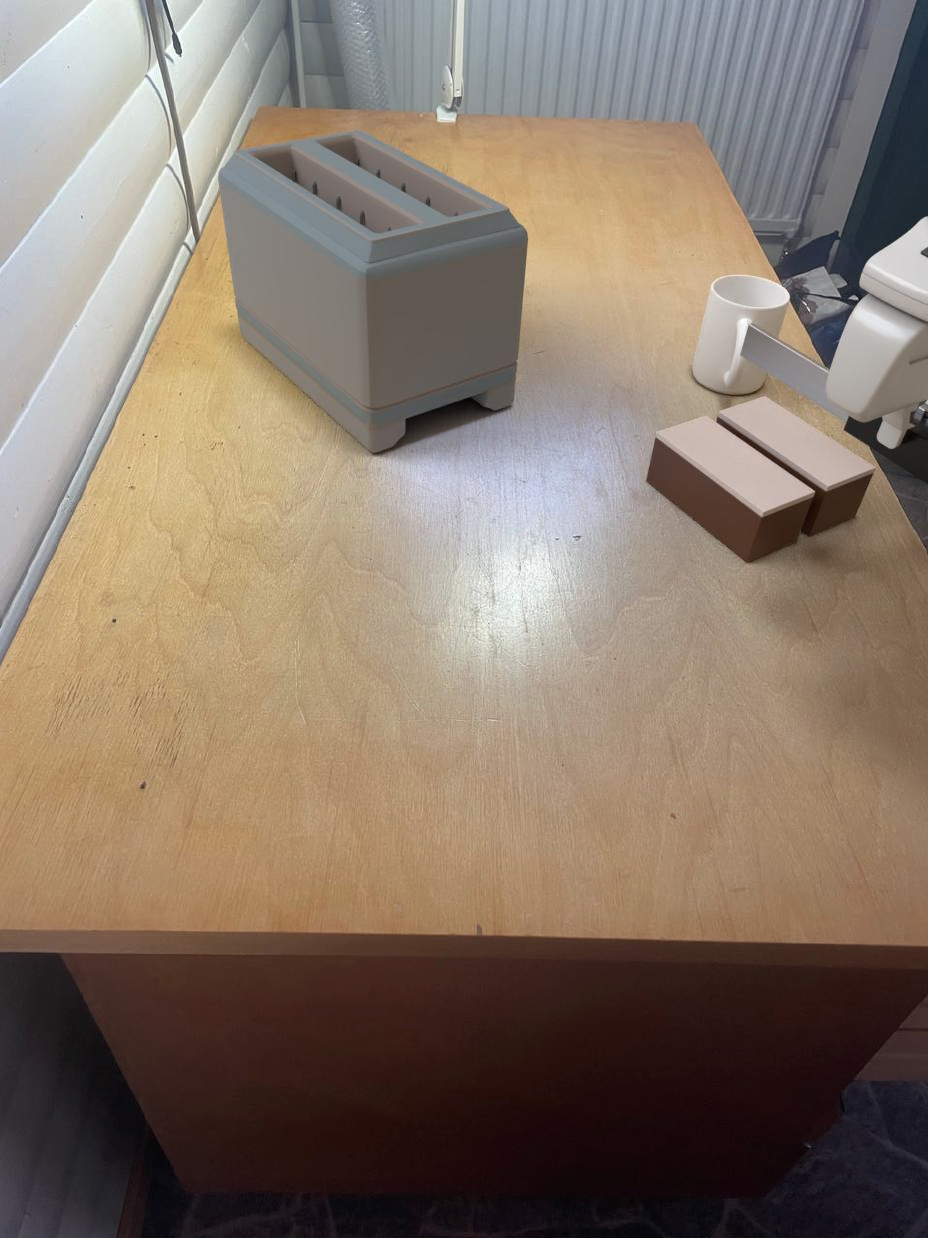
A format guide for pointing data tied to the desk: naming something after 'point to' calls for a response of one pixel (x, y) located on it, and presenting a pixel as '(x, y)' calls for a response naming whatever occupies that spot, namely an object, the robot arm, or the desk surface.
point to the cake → (758, 476)
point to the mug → (736, 331)
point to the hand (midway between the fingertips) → (907, 436)
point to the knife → (918, 456)
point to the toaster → (373, 279)
